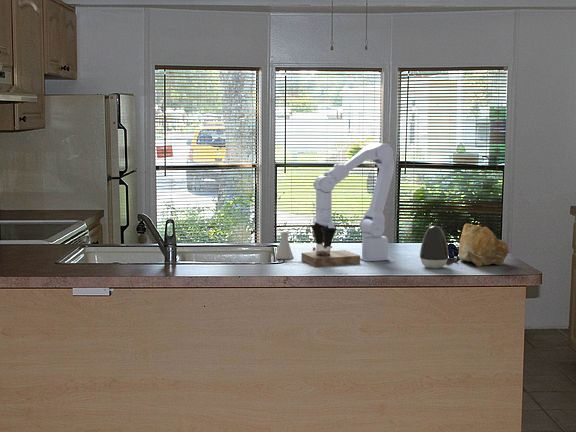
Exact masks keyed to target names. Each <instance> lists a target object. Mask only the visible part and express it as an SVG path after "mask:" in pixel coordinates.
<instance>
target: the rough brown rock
mask: <svg viewBox="0 0 576 432" xmlns="http://www.w3.org/2000/svg"><path fill="white" fill-rule="evenodd" d="M458 244H459V245H458V246H459V247H458V259H459V260H461V261H466V262H472V263H473V264H474V265H475V266H476V267H482V266H490V265H492V264H494V265H496V266H502V265H503V264H504V262H505V259H506V257H507V256H508V254H509V253H510V249H509V247H508V245H507V244H508V243H506V241H504V240H502V239H499V238H497V237H496V234H494V232H493V231H492V230H490V229H489V227H487V226H481V225H476V224H475V225H474V224H472V223H465V224H464V225H463V229H462V232H461V236H460V239H459V243H458Z"/></svg>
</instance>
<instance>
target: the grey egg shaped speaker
mask: <svg viewBox="0 0 576 432" xmlns="http://www.w3.org/2000/svg"><path fill="white" fill-rule="evenodd" d="M419 258H420V262H421V263H422V265H423V266H424V267H426V268H428V269H434V270H435V269H441V268H443V267H444V266H445V265H446V264H447V262H448V259H449V249H448V244H447V239H446V236H445V233H444V231H443V229H442V228H441V227H440V226H438V225H429V226H428V228H427V230H426V231H425V234H424V236H423V239H422V242H421V246H420V251H419Z"/></svg>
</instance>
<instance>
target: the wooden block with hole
mask: <svg viewBox="0 0 576 432" xmlns="http://www.w3.org/2000/svg"><path fill="white" fill-rule="evenodd" d="M360 257H361V255H359V254H356V253H354V252H351V251H349V250H346V249H345V250H343V249H342V250H330V255H329V256H318V255H316V251H312V252H309V251H307V252H301V259H300V260H301V261H302V262H303V263H306V264H308V265H310V266H312V267H315V268H316V267H330V266H345V265H346V266H347V265H359V264H361V259H360Z"/></svg>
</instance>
